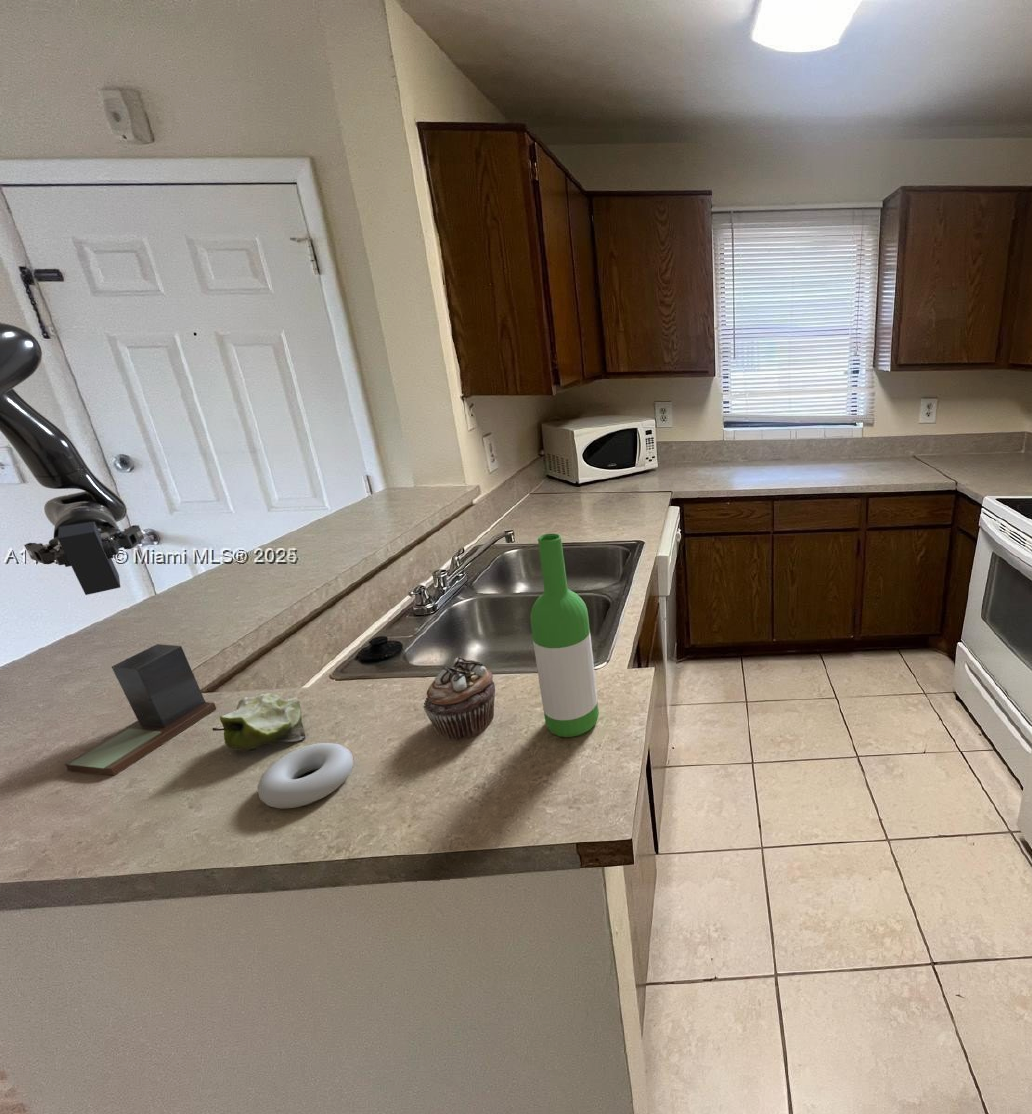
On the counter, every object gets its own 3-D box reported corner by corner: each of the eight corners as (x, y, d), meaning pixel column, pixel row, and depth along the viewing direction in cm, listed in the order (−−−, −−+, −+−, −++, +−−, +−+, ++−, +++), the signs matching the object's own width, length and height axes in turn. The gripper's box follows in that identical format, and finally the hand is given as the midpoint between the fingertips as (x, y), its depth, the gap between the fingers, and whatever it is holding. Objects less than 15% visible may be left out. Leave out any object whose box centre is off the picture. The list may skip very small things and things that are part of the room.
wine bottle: (543, 743, 81) (513, 550, 69) (548, 710, 88) (522, 528, 76) (598, 736, 83) (578, 545, 71) (600, 704, 90) (581, 525, 78)
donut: (243, 802, 71) (297, 824, 68) (233, 781, 70) (289, 802, 66) (322, 750, 80) (374, 767, 76) (315, 730, 78) (367, 747, 75)
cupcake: (458, 698, 90) (446, 645, 86) (513, 707, 89) (503, 652, 85) (414, 738, 82) (399, 680, 78) (474, 749, 80) (461, 690, 76)
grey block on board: (66, 771, 75) (26, 702, 71) (176, 705, 88) (148, 643, 84) (113, 776, 74) (75, 706, 70) (217, 709, 87) (190, 646, 83)
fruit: (245, 777, 76) (209, 733, 73) (235, 749, 82) (201, 707, 79) (321, 733, 82) (291, 691, 78) (306, 709, 88) (277, 669, 84)
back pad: (85, 582, 96) (58, 526, 92) (119, 575, 99) (94, 521, 95) (85, 595, 92) (57, 537, 88) (120, 587, 94) (94, 531, 91)
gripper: (15, 519, 96) (7, 546, 85) (134, 502, 105) (140, 524, 95) (36, 560, 99) (31, 591, 88) (150, 539, 108) (157, 565, 97)
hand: (87, 556), depth 91 cm, fingers closed on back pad, 4 cm apart
